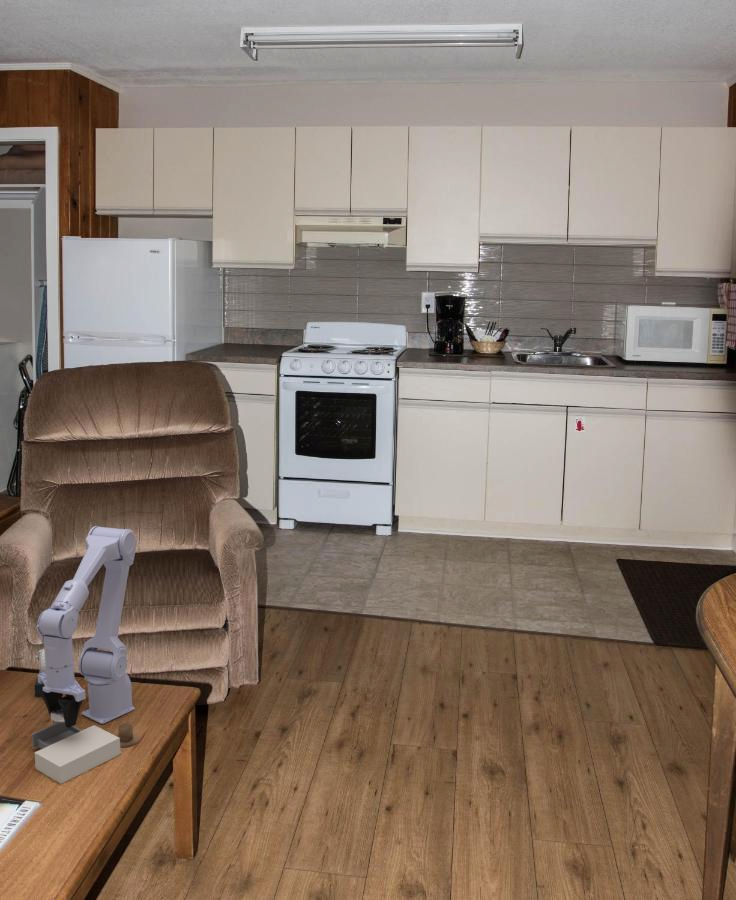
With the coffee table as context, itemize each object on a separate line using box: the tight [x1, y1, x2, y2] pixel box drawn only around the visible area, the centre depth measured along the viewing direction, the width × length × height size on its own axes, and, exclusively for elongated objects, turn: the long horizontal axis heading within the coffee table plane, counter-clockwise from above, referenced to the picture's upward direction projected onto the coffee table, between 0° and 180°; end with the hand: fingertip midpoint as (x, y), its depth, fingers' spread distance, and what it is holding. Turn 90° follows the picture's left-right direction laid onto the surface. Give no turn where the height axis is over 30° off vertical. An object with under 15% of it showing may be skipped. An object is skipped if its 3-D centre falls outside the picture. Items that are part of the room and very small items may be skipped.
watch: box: [34, 648, 46, 698], centre depth 232 cm, size 6×8×11 cm
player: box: [34, 725, 121, 785], centre depth 201 cm, size 9×15×4 cm, turn 142°
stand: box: [116, 722, 140, 749], centre depth 210 cm, size 6×6×4 cm
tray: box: [30, 723, 83, 750], centre depth 207 cm, size 9×10×3 cm
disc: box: [50, 707, 65, 724], centre depth 205 cm, size 5×5×1 cm
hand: (63, 721), depth 206 cm, fingers closed on disc, 5 cm apart
